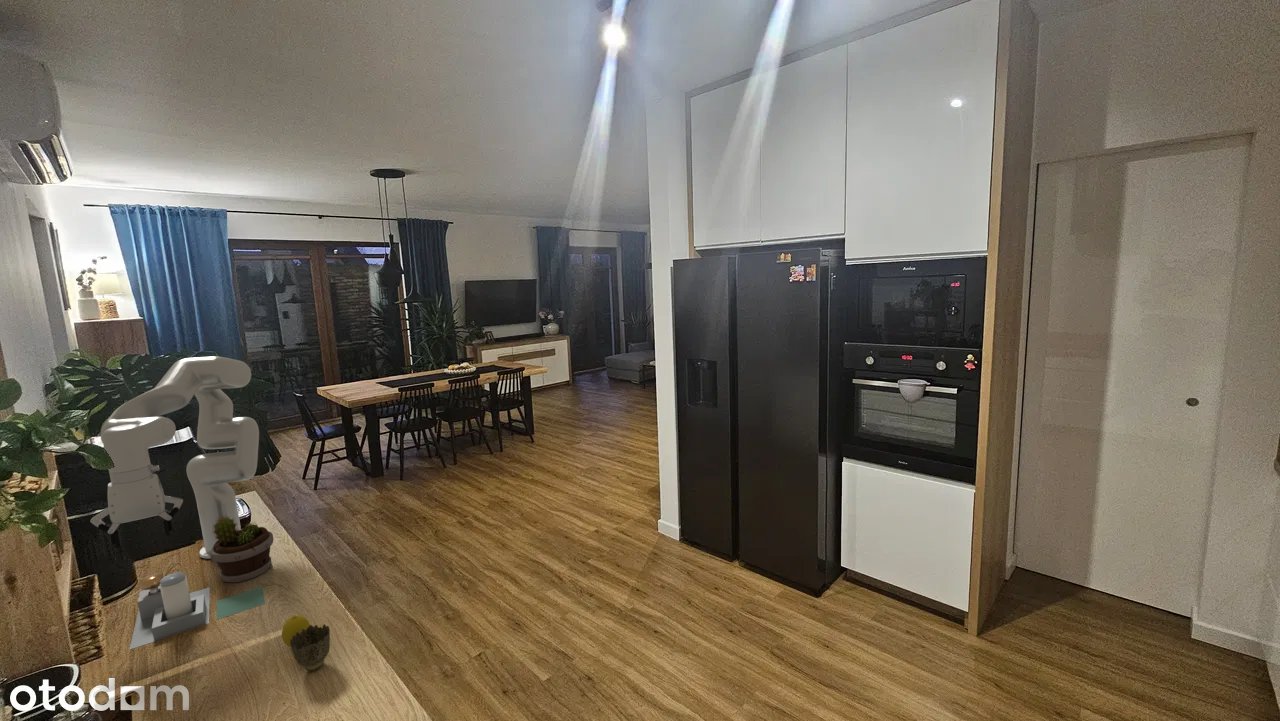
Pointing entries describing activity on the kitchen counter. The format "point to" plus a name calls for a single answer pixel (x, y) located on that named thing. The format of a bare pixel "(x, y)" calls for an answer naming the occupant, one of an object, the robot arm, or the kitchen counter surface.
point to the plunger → (151, 582)
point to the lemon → (294, 627)
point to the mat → (240, 602)
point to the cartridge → (175, 595)
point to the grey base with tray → (154, 620)
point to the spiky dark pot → (311, 647)
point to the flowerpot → (241, 550)
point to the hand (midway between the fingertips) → (144, 539)
